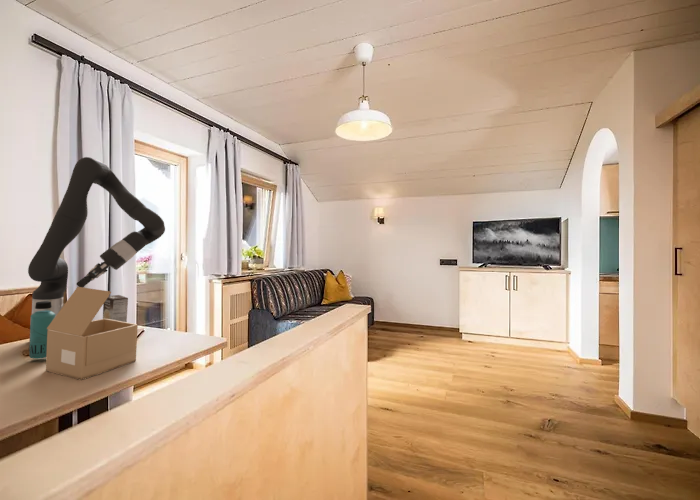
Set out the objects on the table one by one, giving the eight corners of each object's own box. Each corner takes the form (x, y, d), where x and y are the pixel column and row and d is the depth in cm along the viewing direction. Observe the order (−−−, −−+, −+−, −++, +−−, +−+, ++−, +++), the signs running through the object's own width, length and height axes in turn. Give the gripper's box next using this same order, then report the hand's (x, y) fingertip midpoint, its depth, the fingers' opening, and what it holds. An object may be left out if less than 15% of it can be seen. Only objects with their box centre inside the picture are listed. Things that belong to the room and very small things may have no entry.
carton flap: (47, 329, 106) (46, 328, 106) (78, 287, 114) (77, 286, 114) (81, 336, 102) (79, 335, 101) (111, 292, 110) (110, 291, 109)
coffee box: (101, 332, 149) (102, 296, 149) (117, 329, 155) (118, 294, 154) (110, 336, 145) (112, 299, 144) (127, 333, 150) (128, 297, 150)
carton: (44, 370, 107) (46, 329, 107) (103, 353, 125) (104, 318, 124) (81, 380, 102) (83, 337, 102) (137, 361, 119) (139, 324, 119)
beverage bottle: (53, 355, 120) (55, 299, 119) (54, 360, 115) (57, 302, 115) (27, 359, 115) (30, 300, 115) (28, 364, 111) (30, 304, 110)
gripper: (109, 249, 132) (69, 279, 123) (111, 245, 121) (68, 278, 112) (125, 263, 135) (87, 293, 126) (129, 260, 123) (88, 293, 115)
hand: (78, 286), depth 119 cm, fingers open, 8 cm apart
